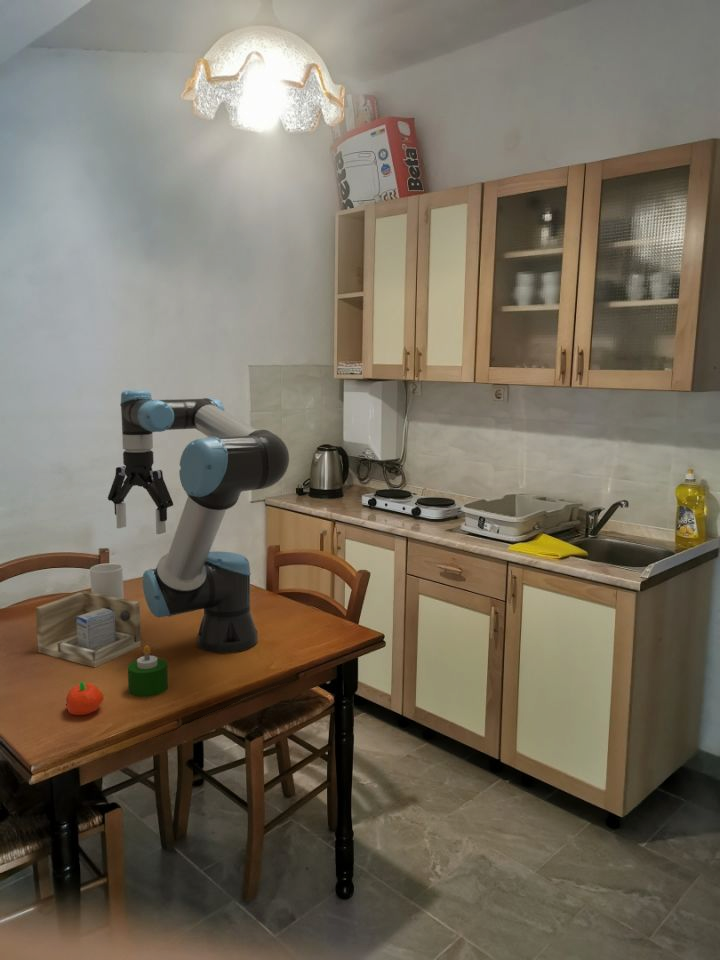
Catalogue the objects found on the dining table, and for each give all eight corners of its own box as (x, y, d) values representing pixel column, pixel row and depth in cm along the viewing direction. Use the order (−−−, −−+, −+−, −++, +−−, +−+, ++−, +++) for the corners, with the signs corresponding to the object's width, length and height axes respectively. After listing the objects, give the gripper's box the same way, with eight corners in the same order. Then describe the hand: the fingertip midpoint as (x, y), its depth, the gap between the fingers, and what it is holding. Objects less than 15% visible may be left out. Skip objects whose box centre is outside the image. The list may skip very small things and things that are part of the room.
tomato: (74, 725, 147) (68, 696, 145) (63, 710, 153) (58, 682, 152) (110, 711, 151) (104, 683, 149) (98, 697, 157) (93, 669, 156)
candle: (175, 688, 163) (173, 645, 161) (142, 700, 157) (140, 656, 155) (154, 677, 168) (152, 635, 167) (121, 689, 162) (119, 645, 161)
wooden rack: (141, 646, 186) (139, 602, 184) (95, 667, 173) (93, 620, 171) (86, 632, 195) (83, 590, 193) (38, 652, 181) (35, 607, 180)
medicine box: (105, 640, 186) (103, 607, 184) (116, 644, 183) (114, 611, 182) (77, 650, 179) (75, 616, 178) (88, 654, 177) (86, 620, 175)
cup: (114, 630, 196) (112, 572, 194) (86, 628, 198) (83, 570, 195) (130, 620, 204) (128, 564, 202) (103, 617, 206) (100, 562, 203)
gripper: (185, 451, 189) (187, 532, 193) (112, 445, 200) (116, 522, 204) (165, 455, 183) (168, 538, 186) (91, 448, 194) (95, 527, 197)
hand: (141, 530), depth 195 cm, fingers open, 13 cm apart
